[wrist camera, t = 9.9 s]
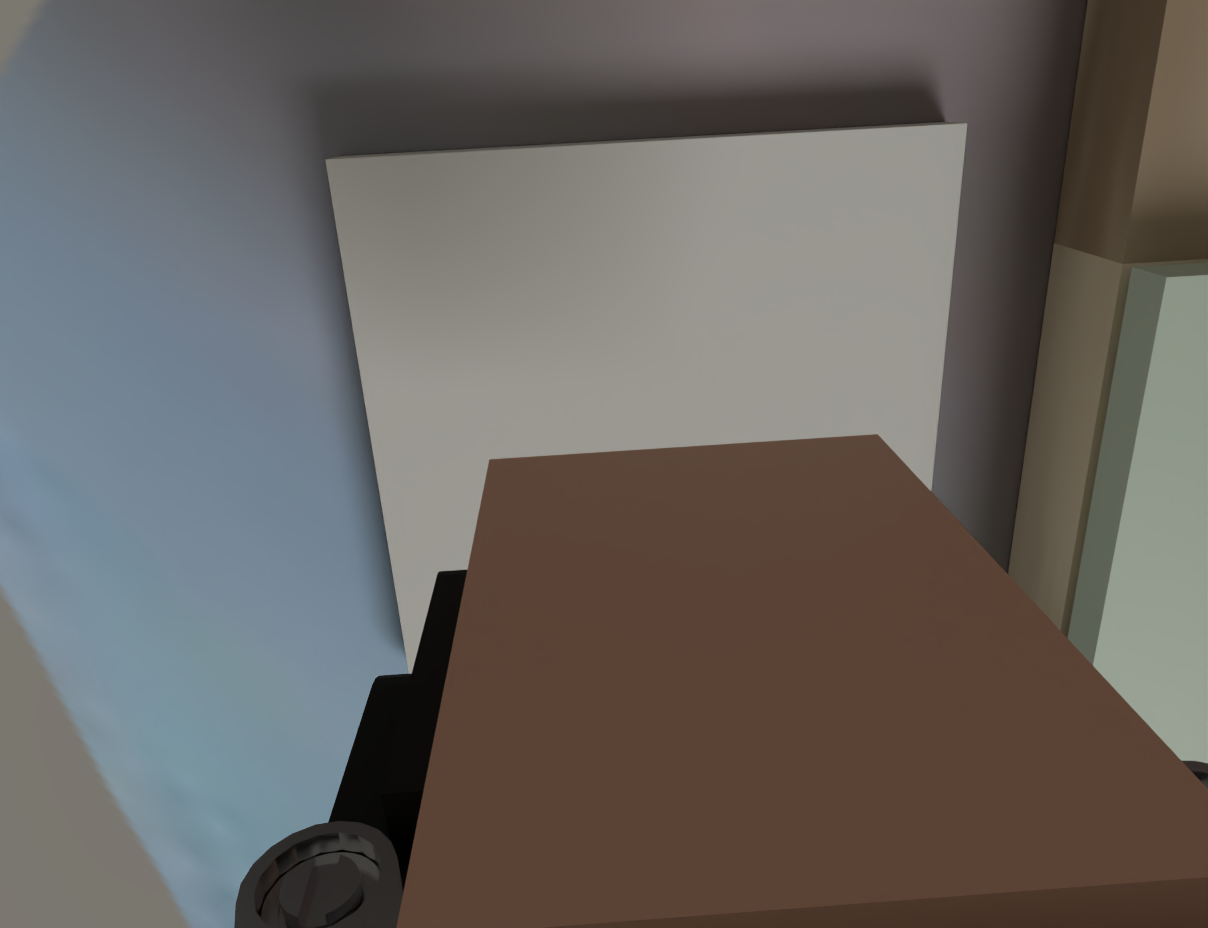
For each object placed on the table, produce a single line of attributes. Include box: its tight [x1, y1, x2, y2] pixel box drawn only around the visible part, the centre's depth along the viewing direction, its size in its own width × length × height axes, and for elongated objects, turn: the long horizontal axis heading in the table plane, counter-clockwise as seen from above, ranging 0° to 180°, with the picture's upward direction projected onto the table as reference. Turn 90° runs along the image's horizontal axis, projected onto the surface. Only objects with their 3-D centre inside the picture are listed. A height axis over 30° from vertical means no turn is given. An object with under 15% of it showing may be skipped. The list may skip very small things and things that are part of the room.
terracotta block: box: [396, 434, 1208, 928], centre depth 9 cm, size 5×5×7 cm
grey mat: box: [325, 122, 967, 674], centre depth 19 cm, size 12×12×1 cm
